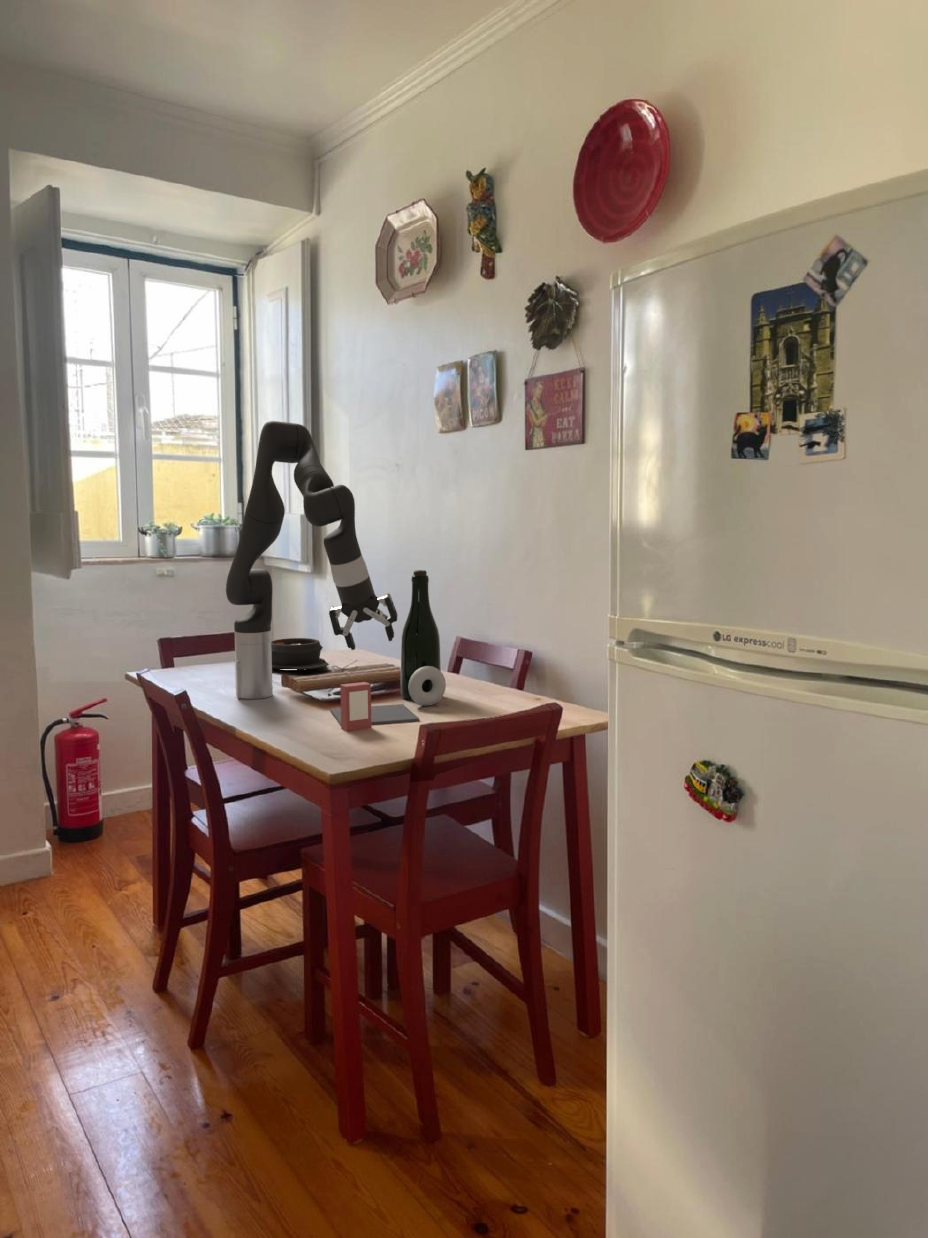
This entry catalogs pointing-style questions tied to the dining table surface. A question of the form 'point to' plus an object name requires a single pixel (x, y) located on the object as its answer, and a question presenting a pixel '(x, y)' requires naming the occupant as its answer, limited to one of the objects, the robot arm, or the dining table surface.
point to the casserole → (297, 654)
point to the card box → (355, 706)
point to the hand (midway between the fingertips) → (372, 644)
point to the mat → (384, 714)
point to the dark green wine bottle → (419, 636)
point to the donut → (418, 680)
